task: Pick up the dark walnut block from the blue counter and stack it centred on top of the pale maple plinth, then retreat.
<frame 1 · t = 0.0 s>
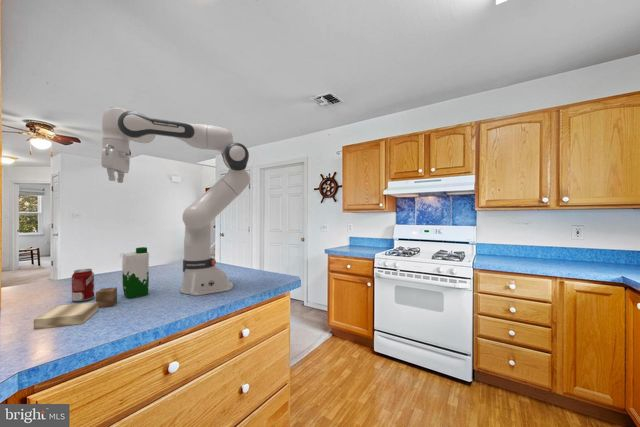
hand: (116, 181, 111), 48 cm above the counter, fingers open, 8 cm apart
walnut block: (106, 305, 103), on the counter
milk carton: (135, 295, 114), on the counter
soda can: (83, 300, 108), on the counter
maple plinth: (68, 318, 90), on the counter
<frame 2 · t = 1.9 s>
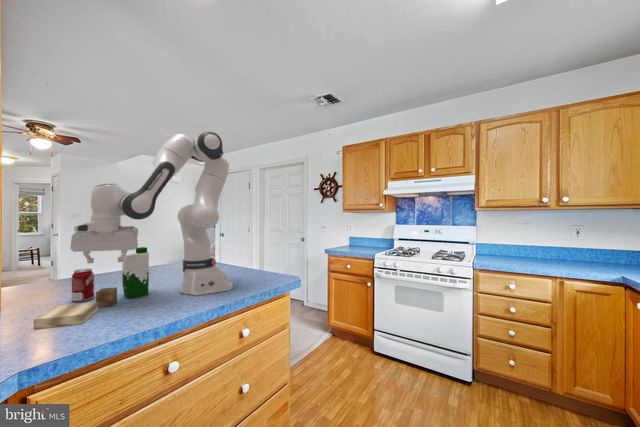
hand: (105, 262, 102), 16 cm above the counter, fingers open, 8 cm apart
nothing on the counter moved.
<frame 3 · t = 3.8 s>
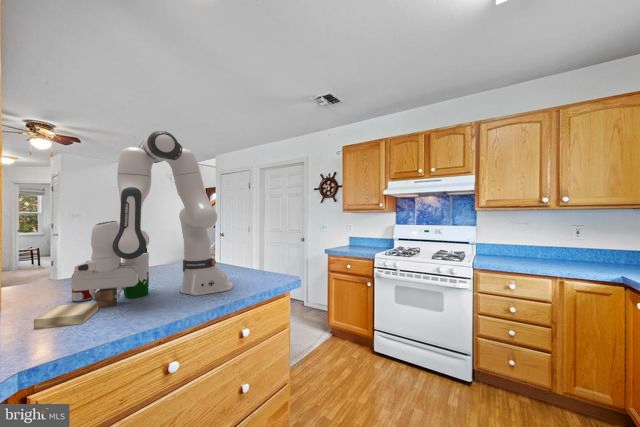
hand: (106, 299, 103), 2 cm above the counter, fingers closed on walnut block, 5 cm apart
walnut block: (106, 305, 103), on the counter, touching gripper
everything else where it was.
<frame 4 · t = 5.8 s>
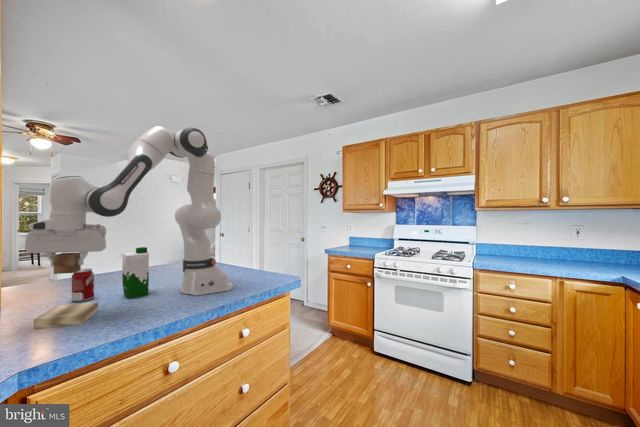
hand: (67, 265, 90), 18 cm above the counter, fingers closed on walnut block, 5 cm apart
walnut block: (67, 271, 90), point 16 cm above the counter, touching gripper
everything else where it was.
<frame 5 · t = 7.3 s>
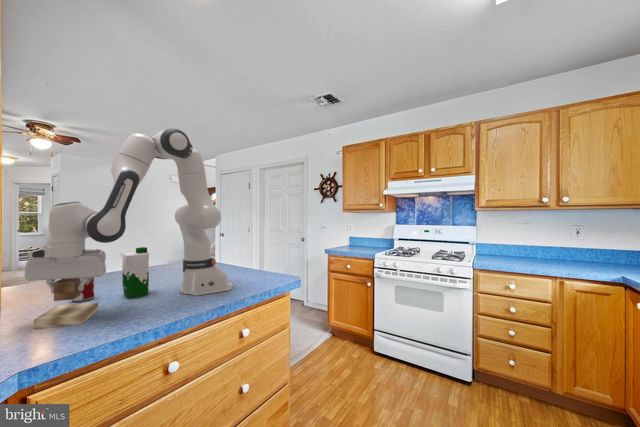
hand: (67, 291, 90), 9 cm above the counter, fingers closed on walnut block, 5 cm apart
walnut block: (67, 297, 90), point 7 cm above the counter, touching gripper
everything else where it was.
when the fingers open (7 cm above the counter, at t = 8.3 s): walnut block drops 1 cm, resting on maple plinth.
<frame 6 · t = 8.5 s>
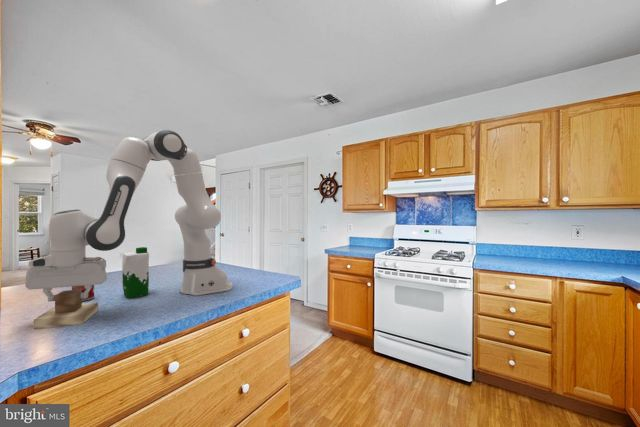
hand: (68, 299, 90), 7 cm above the counter, fingers open, 7 cm apart
walnut block: (68, 310, 90), point 3 cm above the counter, touching maple plinth
everything else where it was.
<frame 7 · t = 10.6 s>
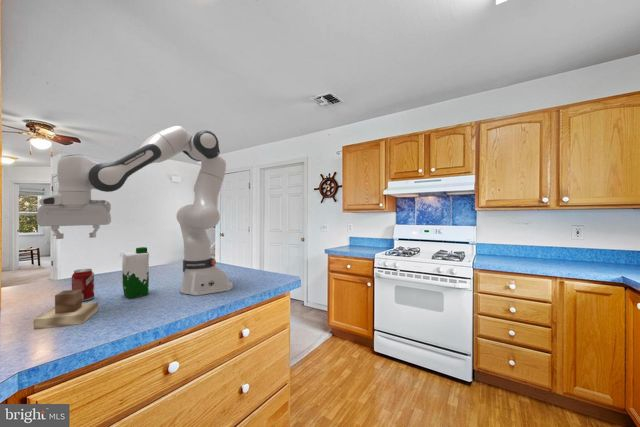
hand: (76, 238, 97), 26 cm above the counter, fingers open, 8 cm apart
nothing on the counter moved.
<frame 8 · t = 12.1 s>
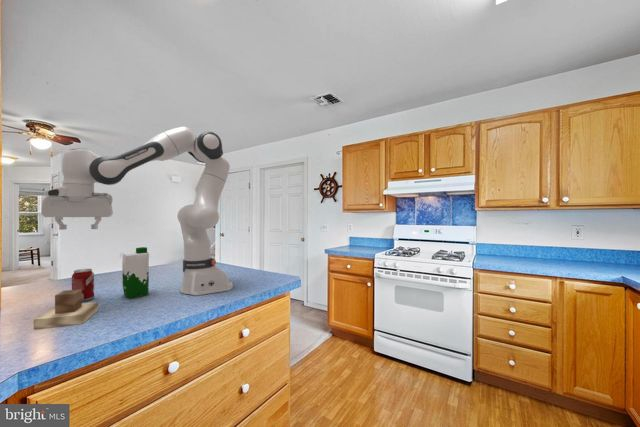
hand: (79, 229, 101), 29 cm above the counter, fingers open, 8 cm apart
nothing on the counter moved.
at the end: walnut block inside the target area on the maple plinth (0.1 cm from its centre), point 3.0 cm above the maple plinth's base; walnut block tilted 0°; the gripper is holding nothing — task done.
